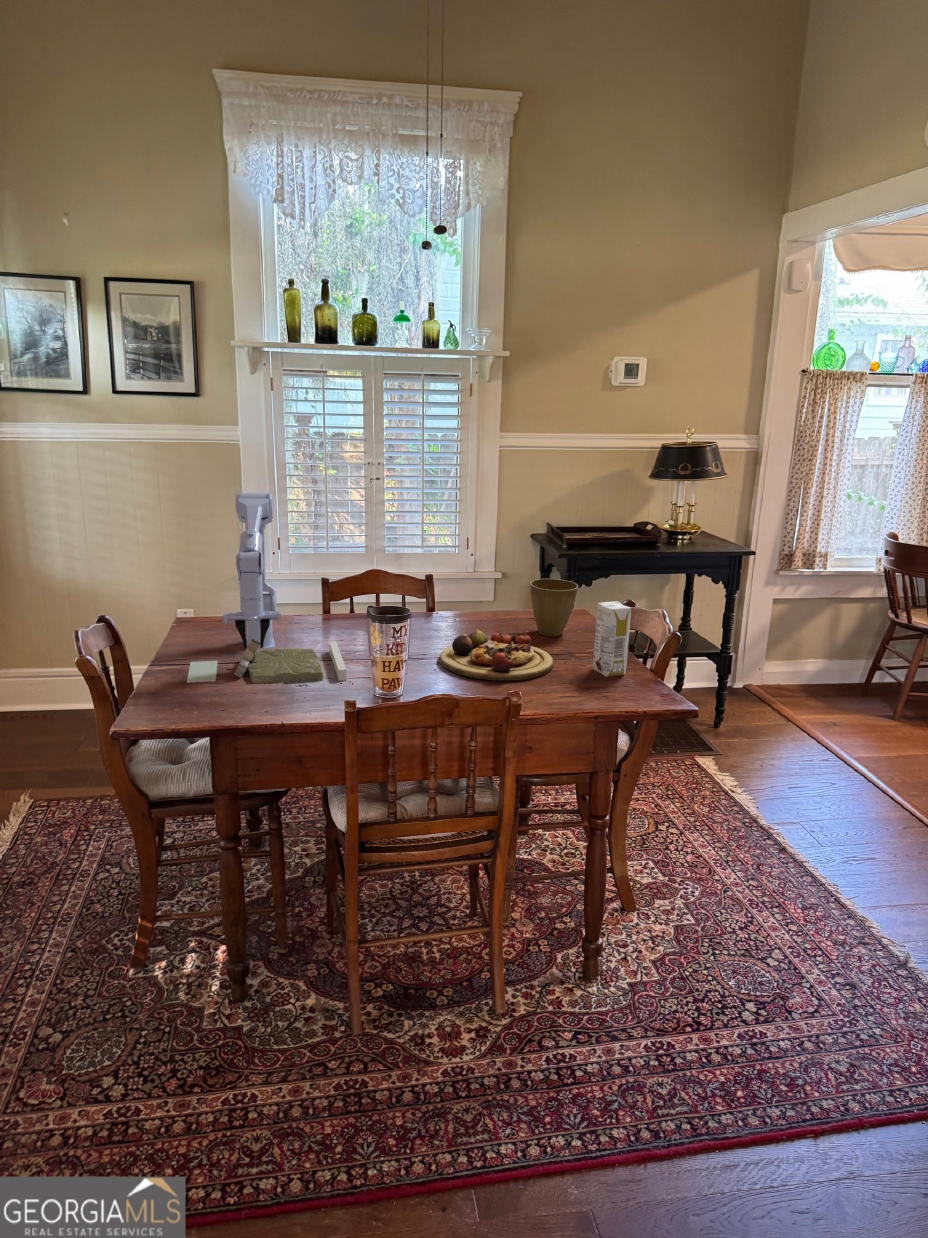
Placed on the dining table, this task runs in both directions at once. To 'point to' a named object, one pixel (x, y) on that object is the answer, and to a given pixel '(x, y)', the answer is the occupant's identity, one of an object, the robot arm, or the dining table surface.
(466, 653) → the wooden plate with food
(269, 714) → the dining table surface
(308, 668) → the decorative tile
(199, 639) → the dining table surface
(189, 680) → the mat
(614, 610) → the juice carton
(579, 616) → the dining table surface
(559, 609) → the plant pot
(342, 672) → the rail
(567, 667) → the dining table surface
